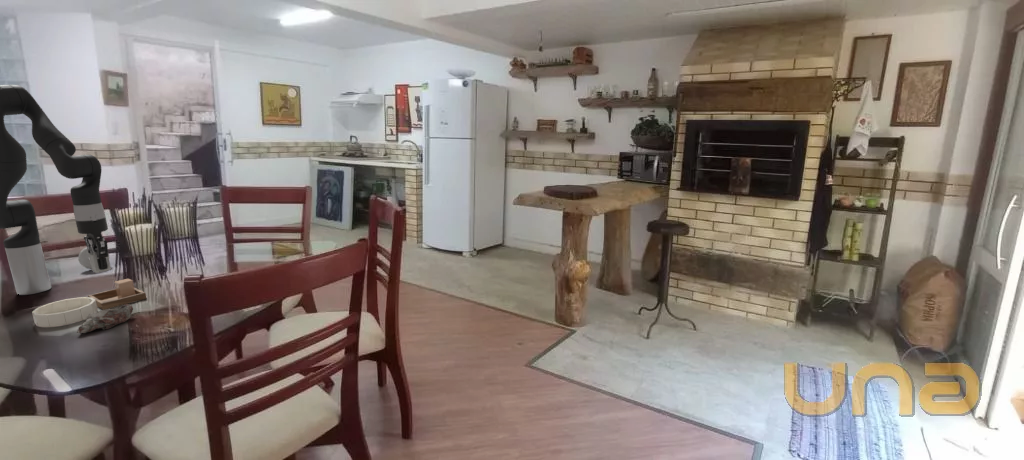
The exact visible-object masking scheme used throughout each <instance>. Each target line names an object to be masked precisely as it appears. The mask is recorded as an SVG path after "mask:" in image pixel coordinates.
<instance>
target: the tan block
mask: <svg viewBox="0 0 1024 460" xmlns="http://www.w3.org/2000/svg"><path fill="white" fill-rule="evenodd" d="M114 286H115V289H116V292H117V296H118V298H119V299H120V298H124V297H128V296H132V295H136V294H135V289H134V287H135V284H134V280H133V279H130V278H125V279H121V280H120V279H119V280H116V281H114Z"/></svg>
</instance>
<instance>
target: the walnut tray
mask: <svg viewBox="0 0 1024 460" xmlns="http://www.w3.org/2000/svg"><path fill="white" fill-rule="evenodd" d="M134 289H135V294H136V295H132V296H128V297H124V298H120V299H119V298H118V296H117V292H116V288H114V289H109V290H105V291H104V290H103V291H101V292H97V293H93V294H88V295H87V297H91V298H93V299H95V300H96V304H97V308H99V309H101V311H102V310H105V309H114V308H118V307H121V306H122V305H124V304H130V303H131V304H132V303H135V302H139V301H144V300H146V299H147V294H146V292H144V291H143V290H140V289H139V288H137V287H135V286H134Z"/></svg>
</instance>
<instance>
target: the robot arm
mask: <svg viewBox="0 0 1024 460" xmlns="http://www.w3.org/2000/svg"><path fill="white" fill-rule="evenodd" d="M15 115H24V116H26V117H27V118H28V119H30V121H31V136H32V138H33V140H34V142H35V143H36V144H37V145H38V147H40V148H41V149H42V151H44V152H45V153H46V154H47V155H48V156H49V158H50V159H51V161H52V162H53V164H54V166H55V168H56V171H57V172H58V173H59V175H61V176H62V177H64V178H66V179H70V180H73V179H82V180H81V183H79V184H77V185H75V186H72V187H71V188H70V190H69V191H70V196H71V201H72V204H73V205H72V207H73V215H74V219H75V220H74V221H75V224H76V228H77V232H78V233H79V234H81V235H85V236H83V240H84V242H85V245H86V247H87V249H88V253H93V252H94V253H95V255H96V258H97V262H98V267H99V269H100V270H104V269H107V268H108V266H107V261H106V258H107V257H108V253H109V249H108V248H109V247H108V241H107V240H105V236H103V234H102V232H106V231H108V229H109V228H108V223H107V217H106V213H105V209H104V205H103V203H102V198H101V194H100V187H101V186H100V185H101V178H102V165H101V162H100V160H99V159H98V158H97V157H96V156H94V155H91V154H79V155H75V153H76V150H77V148H76V146H75V144H74V143H73V142H72V141H71V140H70V139H69V138H68V137H67V136H66V135H64V133H62V132H61V131H60V130H59V129H58V128H57V126H55V124H54V123H53V122H52V121H51V120H50V118H49V117H48V115H47V114H46V113H45V111H44V110H43V108H42V107H41V106H40V104H39V103H38V102H37V101H36V99H35V98H34V97H33V96H32V94H31V93H30V92H29V91H28V90H27V89H26V88H24V87H23V86H21V85H19V84H0V230H3V229H4V230H5V229H11V228H12V229H13V228H19V227H21V228H20V230H18V231H17V232H16V233H14V234H12V235H10V236H8V237H6V238H5V239H4V240H3V243H2V244H3V245H4V246H3V247H4V250H5V253H6V257H7V261H8V265H9V269H10V273H11V276H12V277H11V278H12V280H13V284H14V289H15V291H16V294H17V295H18V294H19V296H27V295H34V294H39V293H42V292H46V291H49V290H50V289H51V288H52V283H51V280H50V276H49V272H48V268H47V264H46V260H45V256H44V251H43V248H42V243H41V240H40V233H39V229H38V228H39V227H38V223H37V217H36V212H35V208H34V206H33V204H32V203H31V201H30V200H28V199H14V200H8V198H9V195H10V193H11V191H12V190H14V187H16V186H17V184H18V183H19V182H20V181H21V180H22V178H23V177H24V176H25V175H26V172H27V169H28V168H27V167H28V165H27V162H28V161H27V160H28V159H27V152H26V150H25V148H24V147H23V146H22V145H21V143H19V141H18V140H17V139H16V138H15V137H13V135H12V134H10V132H9V131H8V130H7V127H6V124H5V116H15ZM101 252H103V254H101Z"/></svg>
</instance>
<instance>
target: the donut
mask: <svg viewBox="0 0 1024 460" xmlns="http://www.w3.org/2000/svg"><path fill="white" fill-rule="evenodd" d="M108 257H109V258H110V253H109V252H108ZM78 262H79V265H81V266H82V267H83V268H85V269H88V270H92V268H91V263H90V259H89V254H88V249H87V246H86V247H84V248H83V249H81V251H80V252H79V253H78Z"/></svg>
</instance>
